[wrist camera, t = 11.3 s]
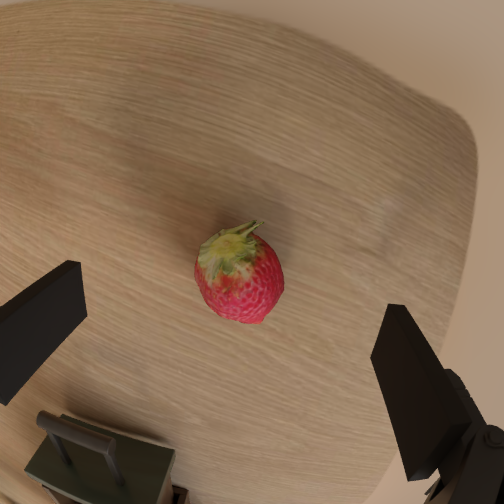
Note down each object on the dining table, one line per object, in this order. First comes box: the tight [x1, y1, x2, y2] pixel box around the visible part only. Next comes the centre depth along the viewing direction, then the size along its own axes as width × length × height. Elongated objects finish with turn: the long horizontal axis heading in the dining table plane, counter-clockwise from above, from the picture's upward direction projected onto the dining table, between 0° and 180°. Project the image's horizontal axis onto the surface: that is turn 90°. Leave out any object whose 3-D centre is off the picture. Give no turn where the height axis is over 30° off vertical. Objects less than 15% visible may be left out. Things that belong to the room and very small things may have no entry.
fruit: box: [195, 220, 284, 324], centre depth 15 cm, size 4×6×5 cm
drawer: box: [24, 411, 176, 504], centre depth 21 cm, size 20×11×8 cm, turn 174°
